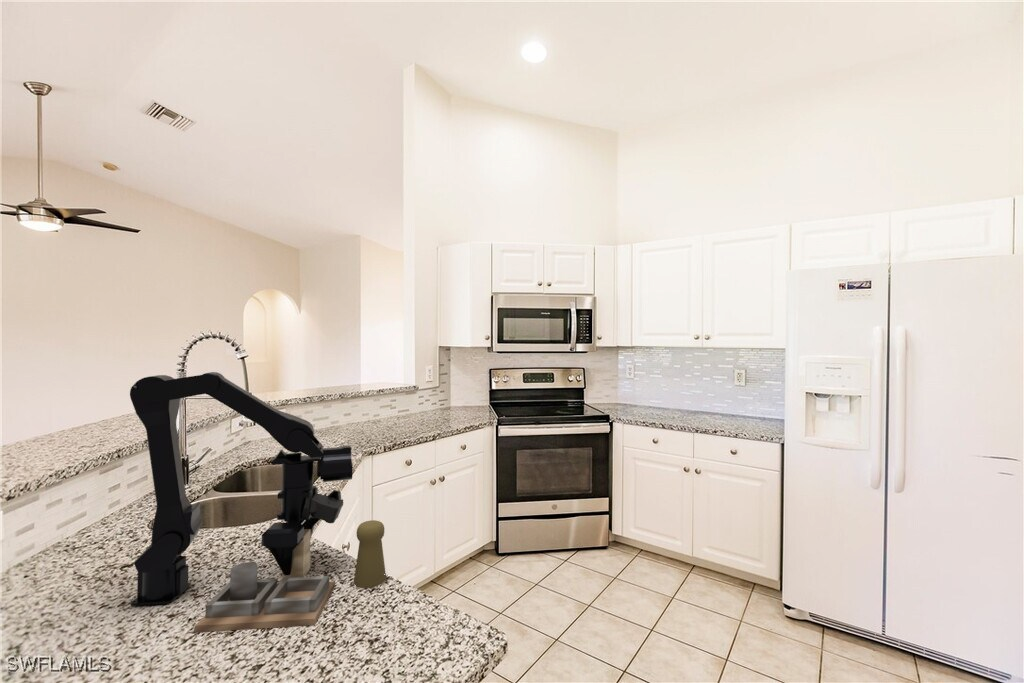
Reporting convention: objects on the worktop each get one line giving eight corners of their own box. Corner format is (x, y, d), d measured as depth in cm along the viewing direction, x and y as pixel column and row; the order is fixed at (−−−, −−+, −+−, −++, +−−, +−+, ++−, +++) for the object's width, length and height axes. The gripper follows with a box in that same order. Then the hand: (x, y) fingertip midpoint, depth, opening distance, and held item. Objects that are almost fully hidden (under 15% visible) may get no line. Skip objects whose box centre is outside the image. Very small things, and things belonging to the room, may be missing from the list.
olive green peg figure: (376, 589, 84) (377, 529, 84) (347, 586, 85) (347, 527, 85) (391, 574, 90) (392, 518, 90) (363, 571, 91) (364, 515, 91)
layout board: (194, 632, 71) (195, 586, 71) (232, 592, 83) (233, 553, 83) (314, 624, 73) (315, 580, 73) (334, 586, 85) (335, 549, 85)
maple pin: (281, 579, 88) (282, 537, 88) (289, 569, 92) (290, 529, 92) (303, 578, 88) (303, 536, 88) (309, 568, 92) (310, 529, 92)
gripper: (326, 497, 82) (324, 585, 81) (350, 471, 100) (349, 542, 100) (260, 499, 81) (259, 588, 80) (298, 472, 99) (296, 544, 99)
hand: (296, 563), depth 90 cm, fingers open, 9 cm apart
